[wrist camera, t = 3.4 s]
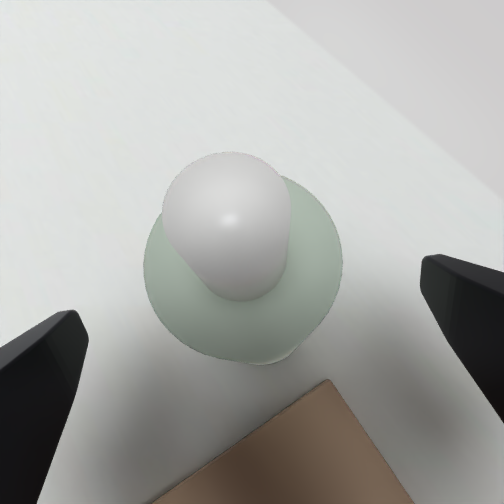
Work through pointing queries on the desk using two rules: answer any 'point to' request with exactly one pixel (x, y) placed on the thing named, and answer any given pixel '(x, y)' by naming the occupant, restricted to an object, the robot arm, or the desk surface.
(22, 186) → the desk surface
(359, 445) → the walnut board
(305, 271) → the sage bottle
